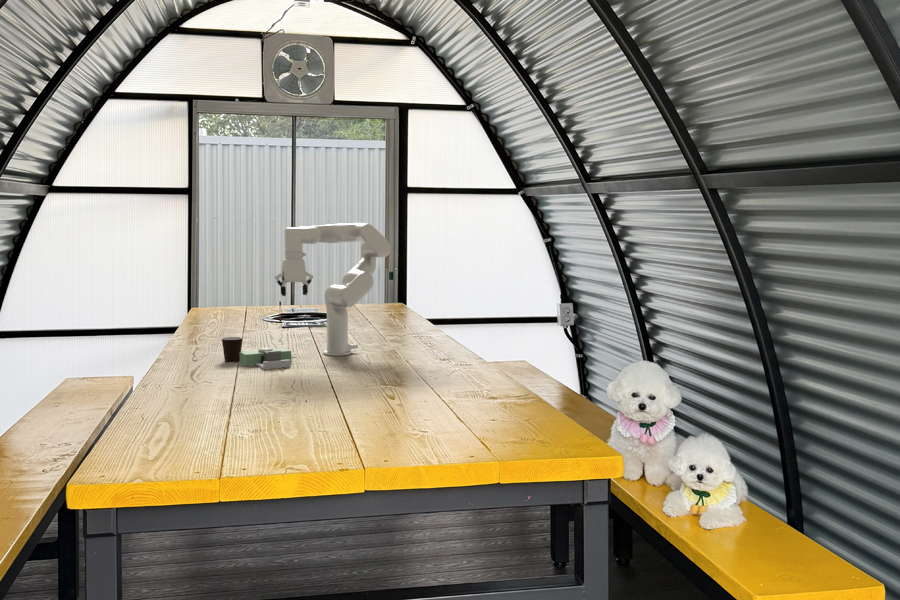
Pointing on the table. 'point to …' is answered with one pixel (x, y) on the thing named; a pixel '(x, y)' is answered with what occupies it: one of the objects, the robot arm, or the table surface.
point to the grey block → (272, 355)
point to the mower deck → (258, 358)
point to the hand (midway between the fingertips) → (294, 295)
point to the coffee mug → (232, 348)
